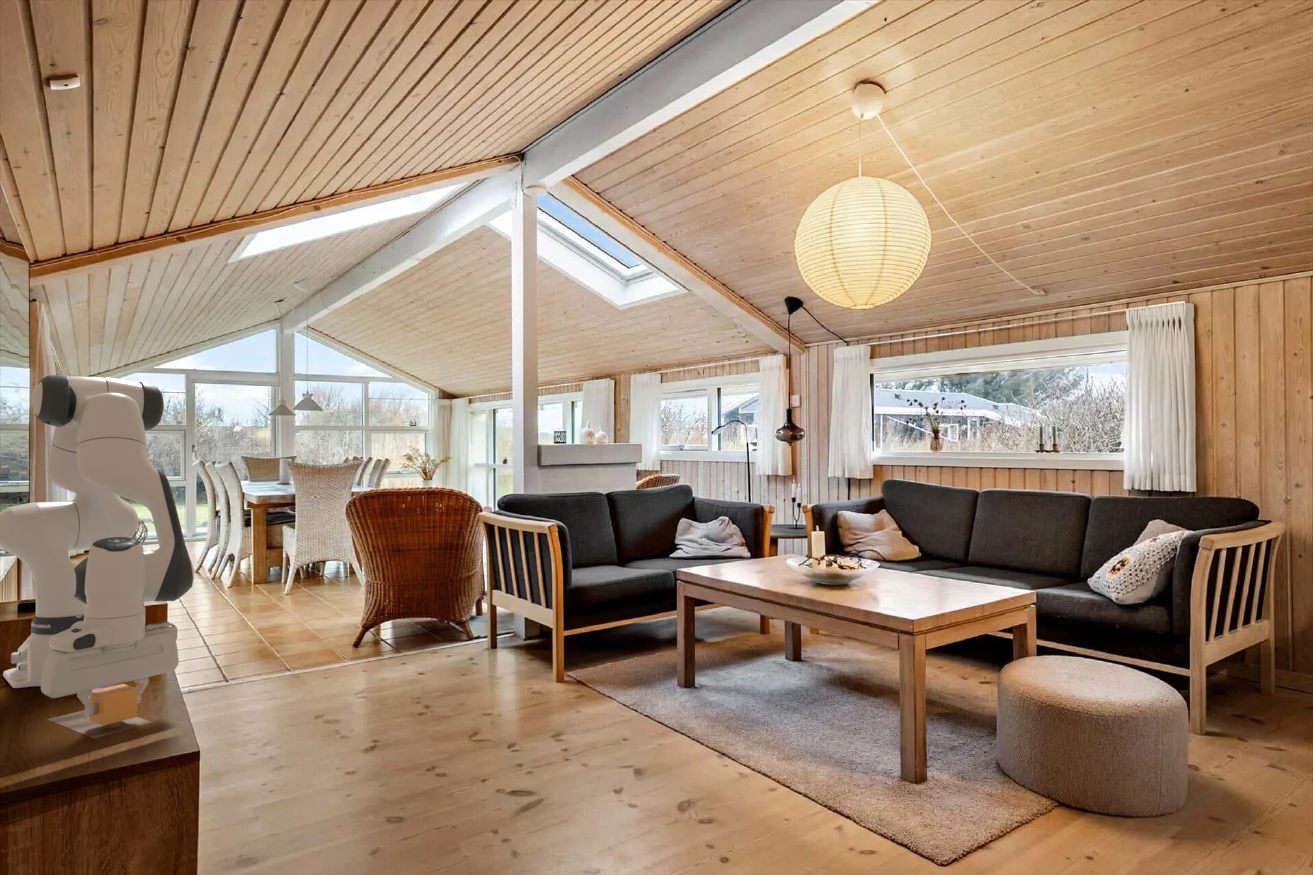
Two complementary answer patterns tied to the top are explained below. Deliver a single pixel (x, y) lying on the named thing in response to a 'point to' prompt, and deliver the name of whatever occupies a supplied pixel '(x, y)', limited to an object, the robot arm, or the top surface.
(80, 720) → the peg board
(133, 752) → the top surface
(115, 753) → the top surface
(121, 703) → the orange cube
